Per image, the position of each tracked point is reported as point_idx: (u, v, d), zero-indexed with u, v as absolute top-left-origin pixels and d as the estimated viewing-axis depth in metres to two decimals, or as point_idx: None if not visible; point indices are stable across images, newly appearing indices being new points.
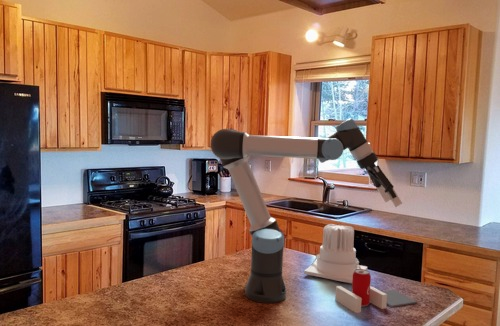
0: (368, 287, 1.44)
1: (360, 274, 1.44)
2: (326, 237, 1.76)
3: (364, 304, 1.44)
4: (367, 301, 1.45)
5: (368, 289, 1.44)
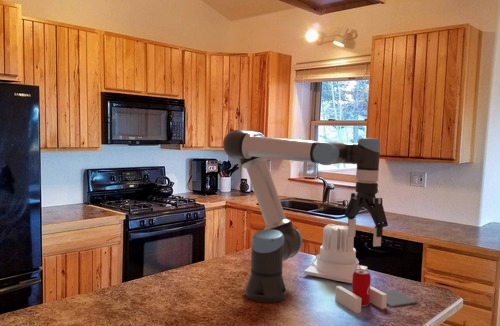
0: (368, 287, 1.44)
1: (360, 274, 1.44)
2: (326, 237, 1.76)
3: (364, 304, 1.44)
4: (367, 301, 1.45)
5: (368, 289, 1.44)
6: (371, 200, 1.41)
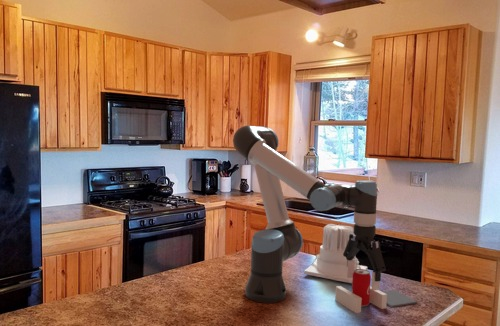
0: (368, 287, 1.44)
1: (360, 274, 1.44)
2: (326, 237, 1.76)
3: (364, 304, 1.44)
4: (367, 301, 1.45)
5: (368, 289, 1.44)
6: (369, 243, 1.42)
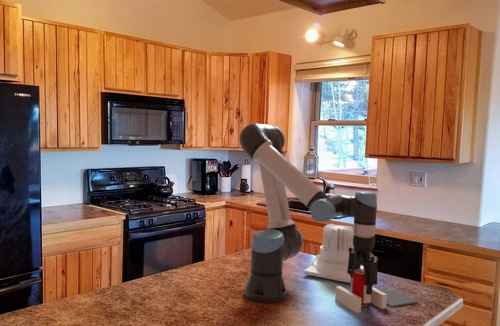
0: None
1: (360, 274, 1.44)
2: (326, 237, 1.76)
3: (364, 304, 1.44)
4: None
5: None
6: (367, 255, 1.42)
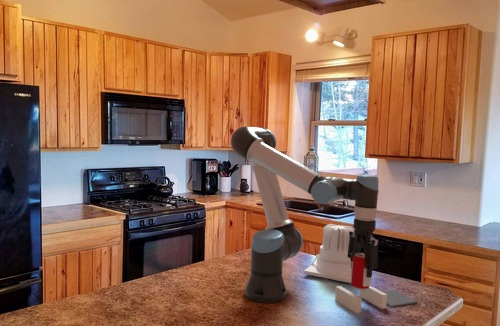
0: None
1: (360, 257, 1.44)
2: (326, 237, 1.76)
3: (364, 287, 1.44)
4: None
5: None
6: (368, 239, 1.42)
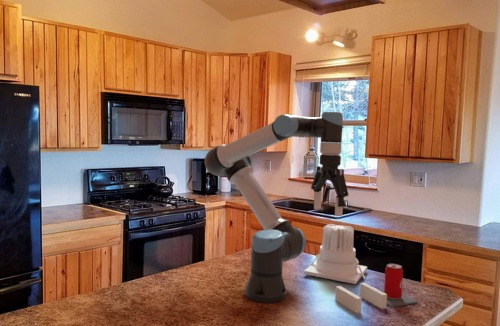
0: (401, 281, 1.50)
1: (393, 268, 1.50)
2: (325, 237, 1.76)
3: (397, 297, 1.50)
4: (400, 294, 1.51)
5: (401, 283, 1.50)
6: (333, 171, 1.46)
